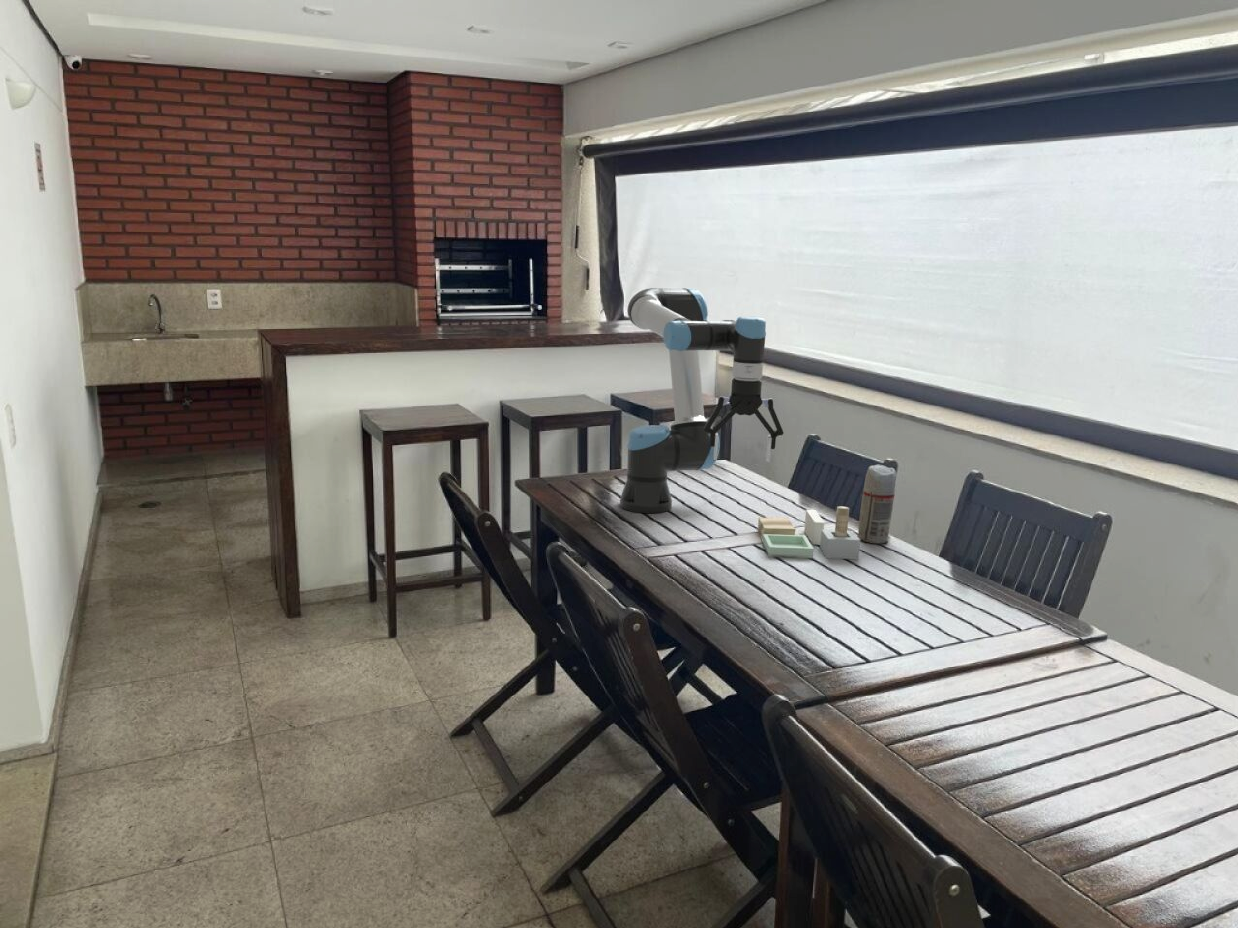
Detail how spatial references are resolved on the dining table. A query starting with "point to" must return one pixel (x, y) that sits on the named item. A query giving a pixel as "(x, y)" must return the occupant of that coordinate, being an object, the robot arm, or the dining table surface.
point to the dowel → (841, 521)
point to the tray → (787, 546)
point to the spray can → (877, 504)
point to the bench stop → (813, 526)
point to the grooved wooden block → (775, 526)
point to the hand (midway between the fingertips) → (741, 460)
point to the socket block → (840, 545)
